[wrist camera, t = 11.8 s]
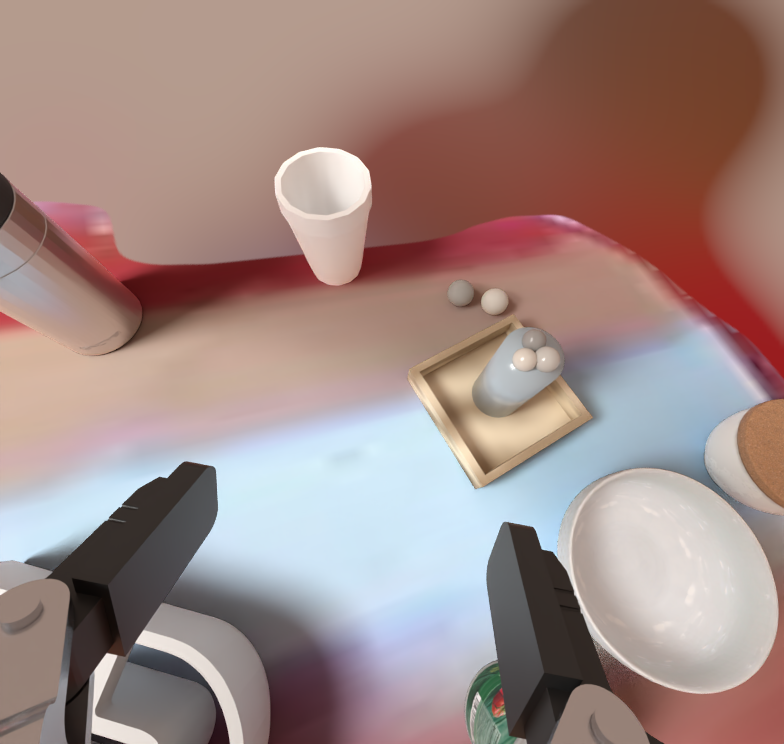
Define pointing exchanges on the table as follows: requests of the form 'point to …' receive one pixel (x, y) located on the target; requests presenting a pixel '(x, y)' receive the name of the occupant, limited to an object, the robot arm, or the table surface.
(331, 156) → the foam cup
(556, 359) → the pebble jar
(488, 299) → the pebble
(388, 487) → the table surface
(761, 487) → the lidded jar
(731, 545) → the cereal bowl
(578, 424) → the birch tray
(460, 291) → the pebble
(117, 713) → the ice cube tray
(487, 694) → the canned tomato
